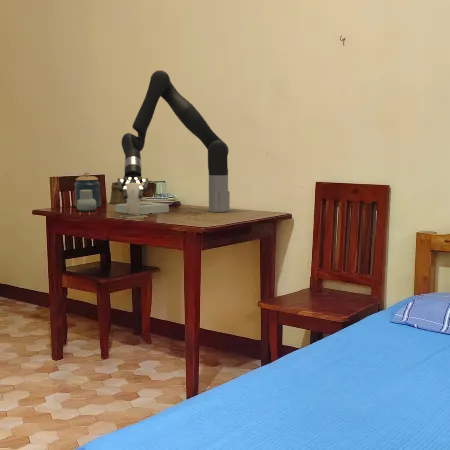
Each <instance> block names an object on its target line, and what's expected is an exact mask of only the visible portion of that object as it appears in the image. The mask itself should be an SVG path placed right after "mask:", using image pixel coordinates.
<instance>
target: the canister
mask: <svg viewBox="0 0 450 450" xmlns="http://www.w3.org/2000/svg"><path fill="white" fill-rule="evenodd" d="M98 180H99V178H98V177H96V176H93V175H90V172H88V171H86V172H84V174H83V176H81V175H80V176H78V177H76V178H75V181H76V182H75V183H73V185H74V187H75V189H74V205H75V208H77V200H79V199H80V190H92V198H93V199H94V200H95V201H96V208H99V207H101V204H102V202H101V189H100V186H101V183H100V181H98Z"/></svg>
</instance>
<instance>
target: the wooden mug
mask: <svg viewBox="0 0 450 450" xmlns="http://www.w3.org/2000/svg"><path fill="white" fill-rule="evenodd" d="M124 177H125V175H124V176H123V178H122V179H124ZM124 186H125V183H124V182H123V183H122V187H123V188H124ZM110 188H111V192H110V200H109V204H110V205H115V204H125V203H127V199H125V198H124V197H123V192H120V191H119V187H118V181H117V182H112V183H111V187H110Z"/></svg>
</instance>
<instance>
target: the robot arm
mask: <svg viewBox="0 0 450 450" xmlns="http://www.w3.org/2000/svg"><path fill="white" fill-rule="evenodd" d="M149 79H150V80H149V85H148V88H147V91H146V94H145V96H144V99H143V102H142V103H141V106H140V108H139V110H138V112H137V115H136V116H135V119H134V121H133V124H132V129H133V130H134V131H136V132H137V135H135V134H133V133H129V132H127V133H125V134H123V136H122V138H121V147H122V150H123V153H124V155H125V156H124V158H125V159H124V176H125V177H124V176H123V178H124V179H123V178H120V177H118V178H117V182H118V187H119V191H120V192H123V197H124V198H125V199H126V200H127V191H126V183H139V199H140V200H142V198H143V193H145V192H147V191H148V186H149V178H148V177H145V178H143V177H142V161H141V159H142V158H141V157H142V156H141V152H142V151H143V149H144V148H145V143H146V136H147V131H148V129H149V127H150V125H151V122H152V119H153V117H154V114H155V111H156V109H157V105H158V102H159V99H160V97H161V98H162V100H164V102H165V103H167V104H168V106H169V107H170V109H171V110H172V112H173V113H174V115H176V117H177V119H178V120H179V121H180V122H181V123H182V124H183V126H184V127H185V128H186V129H187V130H189V131H188V132H190V133H191V134H193V135H194V136H195V137H196V138H198V139H199V140H200V142H201V143H202V144H203V145H204V146H205V149H206V150H207V169H208V212H211V213H212V212H213V213H214V212H215V213H225V212H230V210H231V209H230V201H231V200H230V198H231V197H230V191H229V167H228V166H229V165H228V155H229V152H230V151H229V147H228V144H227V143H226V142H224V141H223V140H222V139H221V138H220V137H219V136H218V135H217V134H216V133H215V132H214V131H213V130H212V128H211V127H210V125H209V124H208V123H207V121H206V119H205V118H204V117H203V115H202V114H201V113H200V112H199V111H198V109H196V107H195V106H194V105H193V104H192V103H191V102H190V101H189V100H187V99H186V98H185V97H184V96H183V95H182V94H181V93H180V92H178V90H177V89H176V88H175V86H174V85H173V83H172V81H171V79H170V75H169V74H168V73H167V72H166V71H164V70H159V69H158V70H155V71H154V72H153V73H152V74H151V76H150V78H149ZM123 182H124V183H125V186H124V188H123V187H122V183H123ZM142 183H143V186H142V185H141V184H142Z"/></svg>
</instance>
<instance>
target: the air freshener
mask: <svg viewBox="0 0 450 450" xmlns="http://www.w3.org/2000/svg"><path fill="white" fill-rule="evenodd" d="M76 209H77V210H78V211H79V212H93V211H95V210H96V209H97V207H96V201H95V200H94V199H93V198H92V190H80V199H79V200H77V207H76Z"/></svg>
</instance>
